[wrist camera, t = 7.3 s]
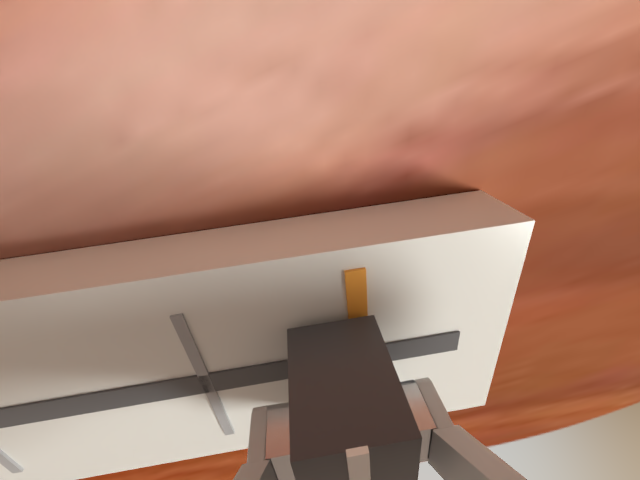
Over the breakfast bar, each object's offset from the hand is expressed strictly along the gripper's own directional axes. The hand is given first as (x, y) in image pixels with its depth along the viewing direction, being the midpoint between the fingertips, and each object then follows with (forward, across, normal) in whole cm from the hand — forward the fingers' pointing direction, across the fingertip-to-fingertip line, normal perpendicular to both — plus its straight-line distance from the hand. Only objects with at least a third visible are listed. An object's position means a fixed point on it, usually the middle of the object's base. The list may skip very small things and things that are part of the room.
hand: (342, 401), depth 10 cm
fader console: (+5, +5, 0) cm, 7 cm away
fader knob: (+1, 0, 0) cm, 1 cm away
